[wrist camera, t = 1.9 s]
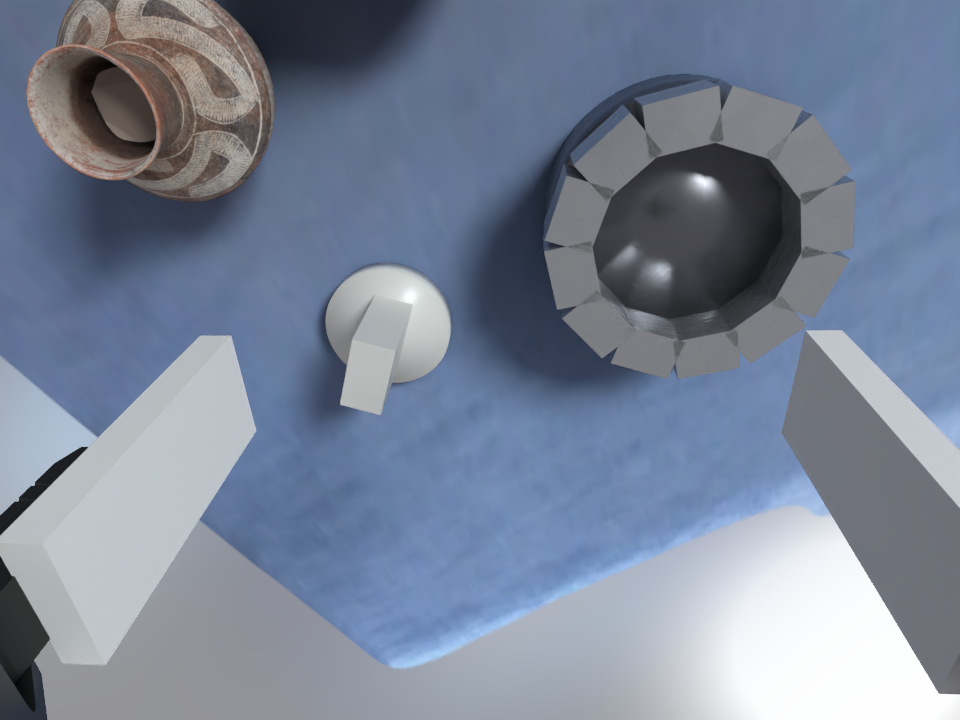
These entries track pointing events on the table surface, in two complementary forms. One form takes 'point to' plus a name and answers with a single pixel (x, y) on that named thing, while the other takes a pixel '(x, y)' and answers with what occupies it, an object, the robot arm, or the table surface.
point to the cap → (386, 330)
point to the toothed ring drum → (694, 224)
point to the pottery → (155, 96)
